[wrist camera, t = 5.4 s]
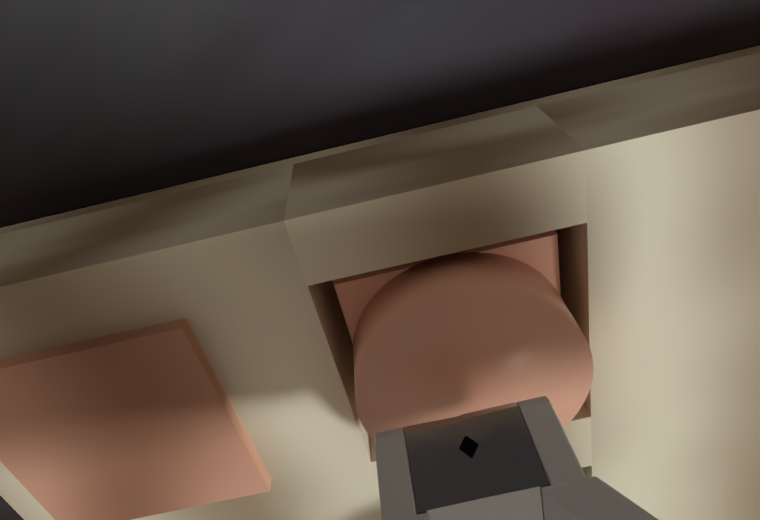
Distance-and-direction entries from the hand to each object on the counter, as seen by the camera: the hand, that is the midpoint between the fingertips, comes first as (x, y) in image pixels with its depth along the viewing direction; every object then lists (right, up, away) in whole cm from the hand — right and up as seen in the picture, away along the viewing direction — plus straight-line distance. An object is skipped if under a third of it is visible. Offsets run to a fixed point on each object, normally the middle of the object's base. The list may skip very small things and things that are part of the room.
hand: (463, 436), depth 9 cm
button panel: (+2, -3, +8) cm, 9 cm away
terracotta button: (0, +2, +4) cm, 5 cm away
